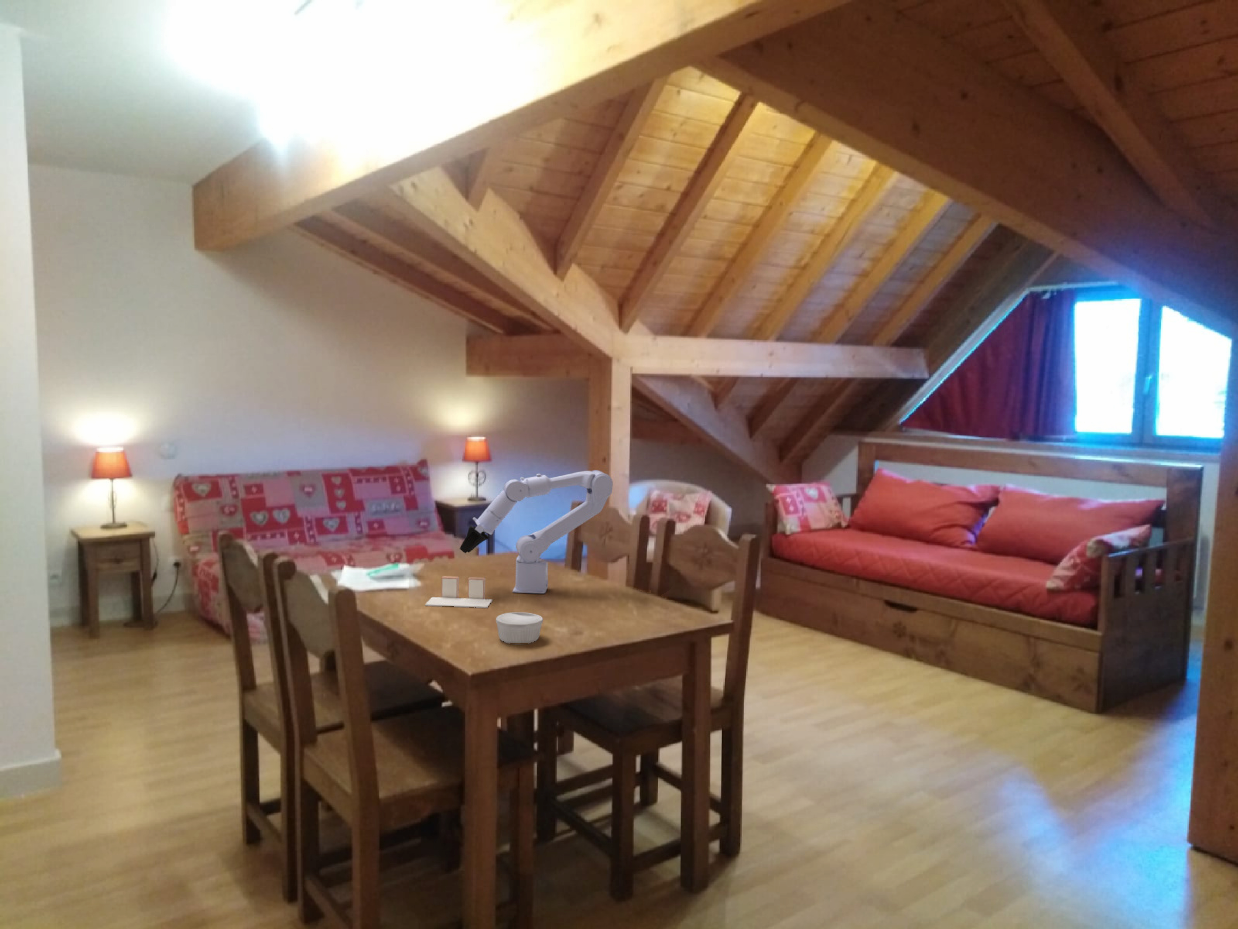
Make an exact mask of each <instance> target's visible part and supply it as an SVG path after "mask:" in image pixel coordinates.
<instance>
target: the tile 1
mask: <svg viewBox="0 0 1238 929" xmlns="http://www.w3.org/2000/svg"><path fill="white" fill-rule="evenodd" d="M459 577H460V576H451V575H450V576H448V575H446V576H445V575H443V576H442V577H441V596H440V597H442V598H459V590H460V589H459V582H460V578H459Z"/></svg>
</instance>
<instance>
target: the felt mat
mask: <svg viewBox="0 0 1238 929" xmlns="http://www.w3.org/2000/svg"><path fill="white" fill-rule="evenodd" d="M492 602H493V599H492V598H491V599H490V598H489V599H488V598H485V599H469V598H468V597H467V598H466V597H465V598H464V597H458V598H442V597H441V596H438V597H436V596H431V598H429V600H427V601H426V603H424V604H425V605H424V606H426V607H442V606H454V607H453V608H469V607H474V608H473V609H488V608H489V607H488V606H490V605H491V604H492ZM490 603H491V604H490ZM475 607H476V608H475Z"/></svg>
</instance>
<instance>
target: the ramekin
mask: <svg viewBox="0 0 1238 929" xmlns="http://www.w3.org/2000/svg"><path fill="white" fill-rule="evenodd" d="M495 622H496V626H497V632H498V633H497V635H498V638H499V640H501V641H502V642H503V641H504V642H503V643H506V644H510V643H528V644H532V643H535V642H537V641H538V639H539V638H540V633H541V630H542V624H543V622H544V618H543V617H542V616H541V615H538V614H537V613H536V614H535V613H530V612H521V611H518V612H517V611H515V612H505V613H502V614H500V615H497V616H496V619H495ZM534 641H535V642H534ZM531 642H532V643H531Z"/></svg>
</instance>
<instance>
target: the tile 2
mask: <svg viewBox="0 0 1238 929" xmlns="http://www.w3.org/2000/svg"><path fill="white" fill-rule="evenodd" d="M467 583H468V584H467V598H469V599H486V577H479V576H478V577H475V576H474V577H473V576H469V577H468V578H467Z"/></svg>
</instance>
